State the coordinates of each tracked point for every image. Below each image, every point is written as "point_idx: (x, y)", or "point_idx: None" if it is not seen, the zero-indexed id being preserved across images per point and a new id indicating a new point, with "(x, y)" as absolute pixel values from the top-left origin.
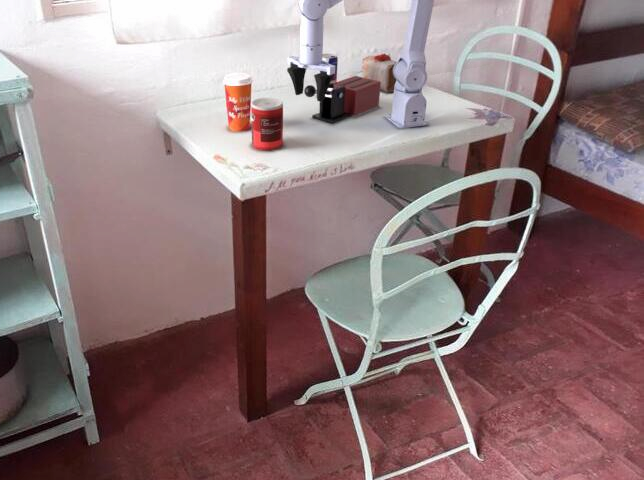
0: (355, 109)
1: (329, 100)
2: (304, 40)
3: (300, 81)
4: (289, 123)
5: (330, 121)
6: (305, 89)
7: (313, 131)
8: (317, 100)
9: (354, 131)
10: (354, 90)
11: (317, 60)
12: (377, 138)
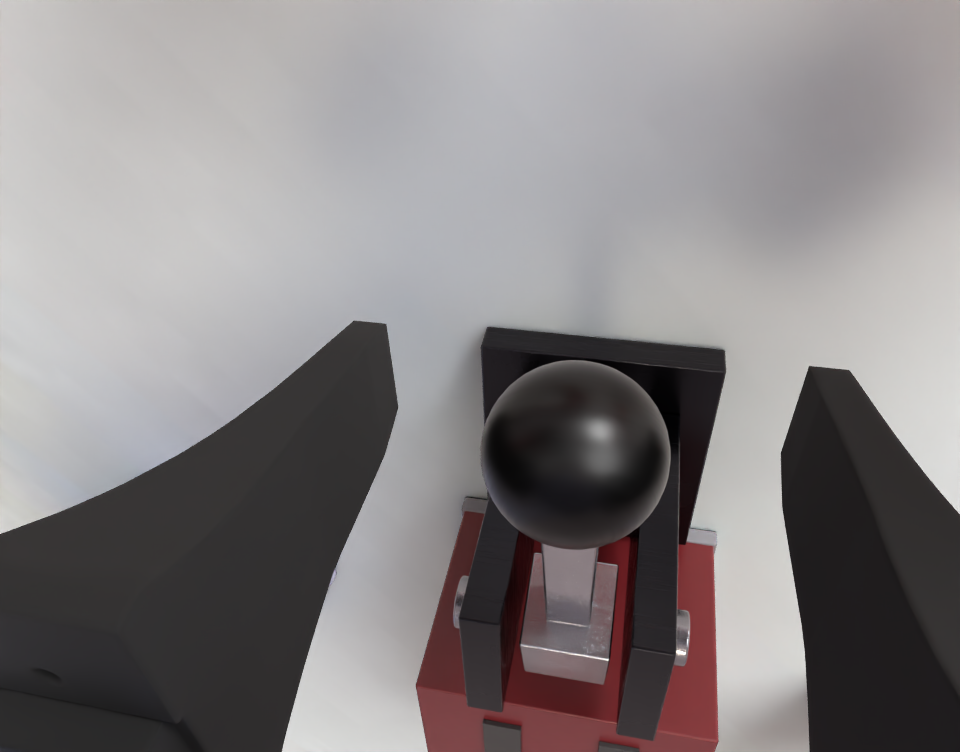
0: (453, 553)
1: (630, 563)
2: None
3: (829, 595)
4: (879, 128)
5: (495, 344)
6: (608, 430)
7: (494, 103)
8: (381, 326)
9: (259, 310)
10: (430, 689)
11: None
12: (57, 290)
